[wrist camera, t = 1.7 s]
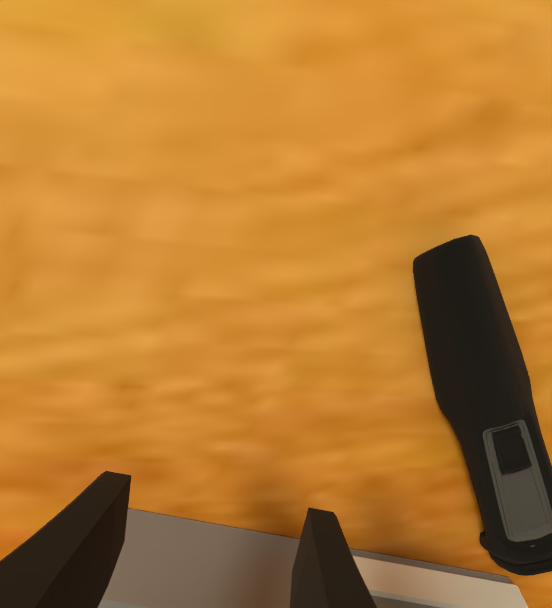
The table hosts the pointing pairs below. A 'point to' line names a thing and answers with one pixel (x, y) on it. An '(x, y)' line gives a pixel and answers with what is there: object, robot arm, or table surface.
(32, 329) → the table surface
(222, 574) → the charging dock
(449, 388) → the electric trimmer
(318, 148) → the table surface
